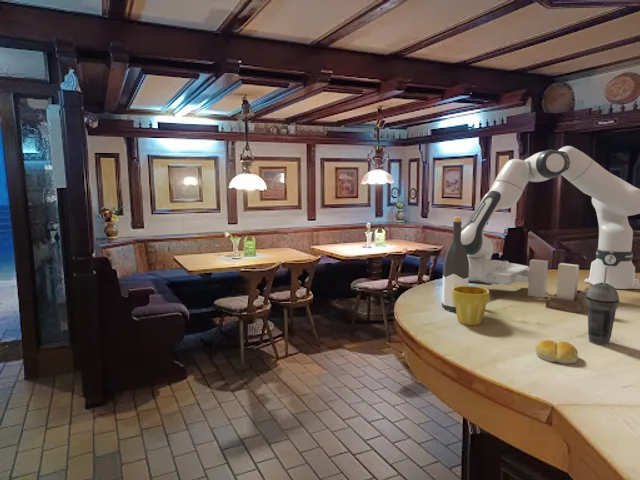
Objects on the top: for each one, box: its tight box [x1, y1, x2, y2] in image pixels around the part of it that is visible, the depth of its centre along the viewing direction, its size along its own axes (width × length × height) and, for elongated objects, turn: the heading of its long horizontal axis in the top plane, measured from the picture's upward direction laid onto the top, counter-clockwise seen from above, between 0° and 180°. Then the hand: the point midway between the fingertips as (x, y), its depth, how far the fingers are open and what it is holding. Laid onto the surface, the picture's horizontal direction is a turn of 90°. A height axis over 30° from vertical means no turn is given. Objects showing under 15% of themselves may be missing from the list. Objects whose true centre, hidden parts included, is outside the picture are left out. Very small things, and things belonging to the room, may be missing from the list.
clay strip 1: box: [527, 258, 549, 299], centre depth 156 cm, size 3×5×14 cm, turn 46°
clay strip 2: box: [555, 262, 580, 301], centre depth 140 cm, size 3×5×14 cm, turn 46°
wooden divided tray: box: [545, 284, 593, 315], centre depth 145 cm, size 16×10×8 cm, turn 136°
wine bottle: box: [441, 216, 469, 312], centre depth 145 cm, size 8×8×30 cm
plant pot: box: [452, 285, 490, 326], centre depth 133 cm, size 10×10×10 cm
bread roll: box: [534, 339, 579, 365], centre depth 106 cm, size 8×9×4 cm
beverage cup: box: [586, 267, 620, 346], centre depth 115 cm, size 7×7×20 cm
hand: (534, 277), depth 157 cm, fingers open, 8 cm apart
